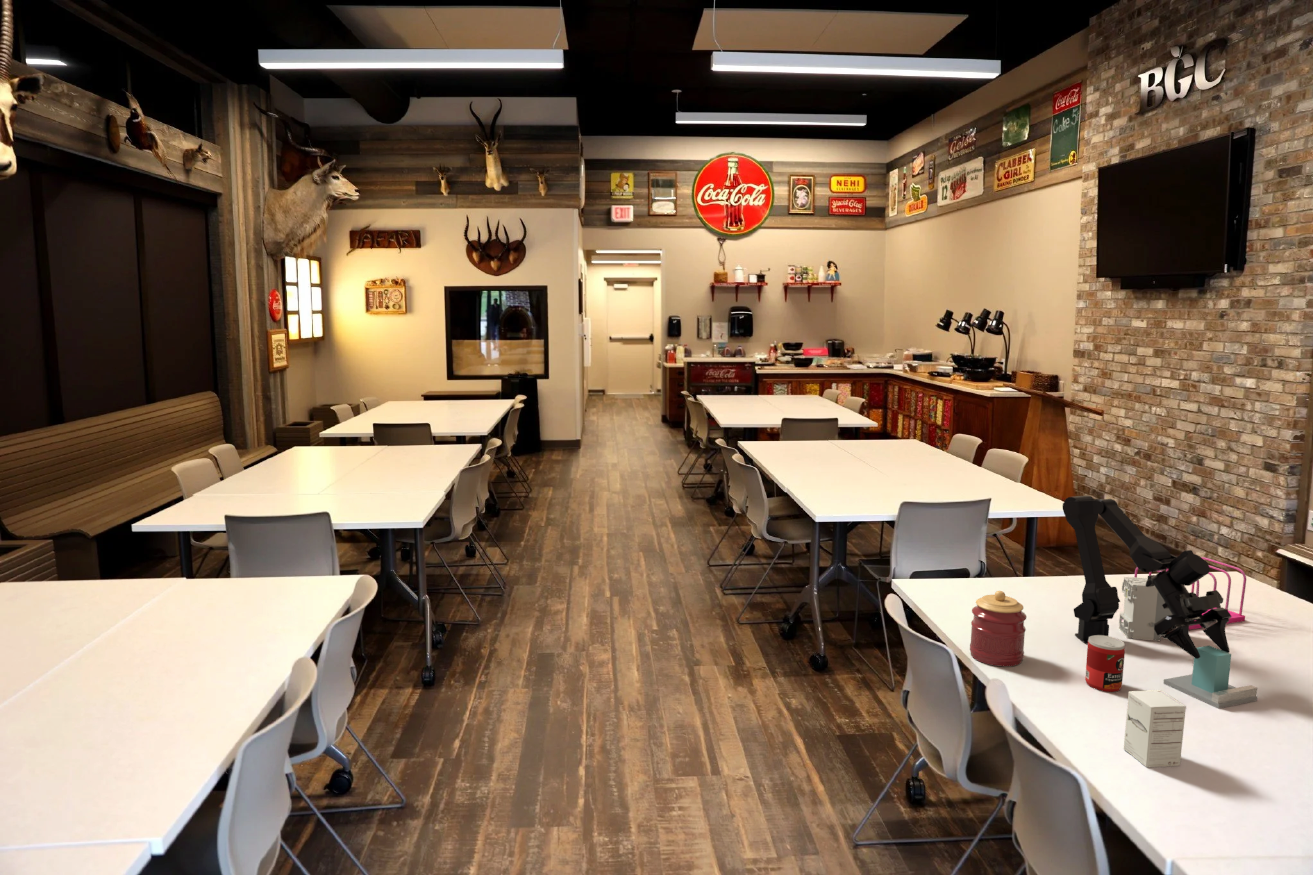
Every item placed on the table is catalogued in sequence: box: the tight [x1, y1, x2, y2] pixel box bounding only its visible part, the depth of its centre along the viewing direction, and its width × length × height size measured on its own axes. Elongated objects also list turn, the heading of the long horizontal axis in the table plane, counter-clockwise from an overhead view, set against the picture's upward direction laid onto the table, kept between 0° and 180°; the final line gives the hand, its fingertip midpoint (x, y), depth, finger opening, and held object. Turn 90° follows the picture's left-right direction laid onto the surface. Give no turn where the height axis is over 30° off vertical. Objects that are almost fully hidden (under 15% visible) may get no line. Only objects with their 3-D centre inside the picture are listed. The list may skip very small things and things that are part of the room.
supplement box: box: [1123, 689, 1187, 768], centre depth 171 cm, size 7×7×13 cm
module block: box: [1191, 645, 1232, 693], centre depth 201 cm, size 6×4×9 cm
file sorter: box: [1134, 556, 1247, 631], centre depth 251 cm, size 17×25×16 cm
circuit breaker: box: [1118, 576, 1172, 641], centre depth 236 cm, size 8×14×15 cm, turn 78°
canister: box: [969, 590, 1027, 667], centre depth 220 cm, size 13×13×18 cm
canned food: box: [1084, 635, 1126, 693], centre depth 204 cm, size 8×8×11 cm
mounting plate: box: [1163, 673, 1258, 709], centre depth 201 cm, size 14×12×3 cm
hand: (1213, 655), depth 200 cm, fingers open, 9 cm apart
